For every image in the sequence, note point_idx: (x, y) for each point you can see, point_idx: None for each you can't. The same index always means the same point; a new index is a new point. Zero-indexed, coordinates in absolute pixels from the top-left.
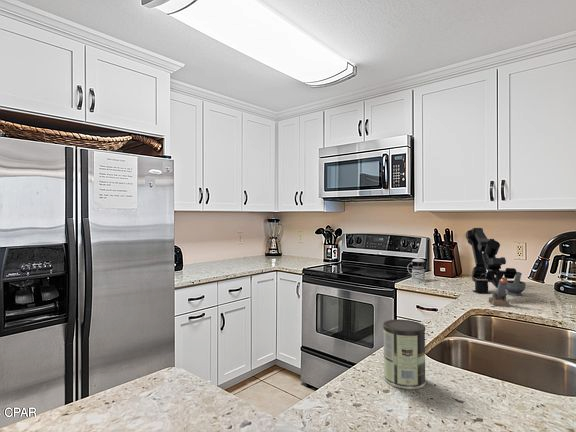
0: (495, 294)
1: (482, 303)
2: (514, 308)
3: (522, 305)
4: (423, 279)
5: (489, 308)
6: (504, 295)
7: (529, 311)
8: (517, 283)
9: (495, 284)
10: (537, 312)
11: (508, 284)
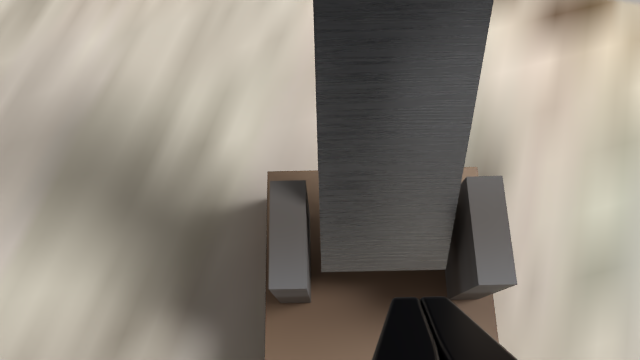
0: (469, 182)
1: (593, 330)
2: (228, 128)
3: (32, 345)
4: None
5: (535, 54)
6: (305, 186)
7: (115, 27)
8: None
9: (493, 356)
10: (48, 5)
11: None
